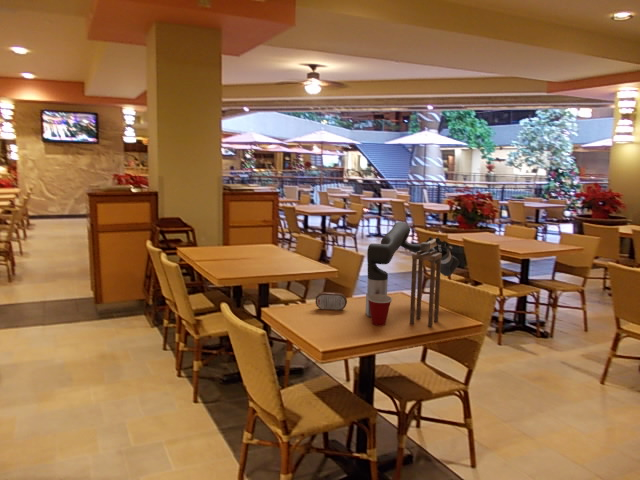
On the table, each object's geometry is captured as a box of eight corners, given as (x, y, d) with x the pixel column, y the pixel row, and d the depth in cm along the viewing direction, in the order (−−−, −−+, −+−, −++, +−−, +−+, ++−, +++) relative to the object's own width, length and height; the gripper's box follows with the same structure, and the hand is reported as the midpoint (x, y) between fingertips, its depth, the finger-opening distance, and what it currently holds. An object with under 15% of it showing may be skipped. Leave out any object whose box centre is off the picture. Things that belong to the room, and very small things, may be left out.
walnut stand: (409, 323, 232) (412, 251, 227) (416, 317, 241) (419, 248, 237) (431, 327, 227) (435, 253, 223) (438, 321, 236) (441, 250, 232)
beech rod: (420, 250, 226) (420, 243, 226) (432, 243, 242) (432, 237, 241) (427, 251, 225) (427, 243, 224) (439, 244, 240) (439, 237, 240)
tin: (346, 309, 253) (347, 292, 252) (346, 311, 250) (346, 294, 249) (315, 308, 255) (315, 291, 254) (314, 310, 252) (315, 292, 251)
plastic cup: (371, 328, 224) (372, 300, 223) (363, 321, 235) (363, 294, 233) (395, 326, 227) (396, 299, 226) (385, 319, 238) (386, 293, 236)
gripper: (429, 244, 255) (420, 230, 241) (457, 247, 249) (450, 232, 235) (426, 259, 253) (416, 245, 239) (455, 262, 246) (447, 247, 232)
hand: (433, 238), depth 237 cm, fingers closed on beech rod, 2 cm apart
